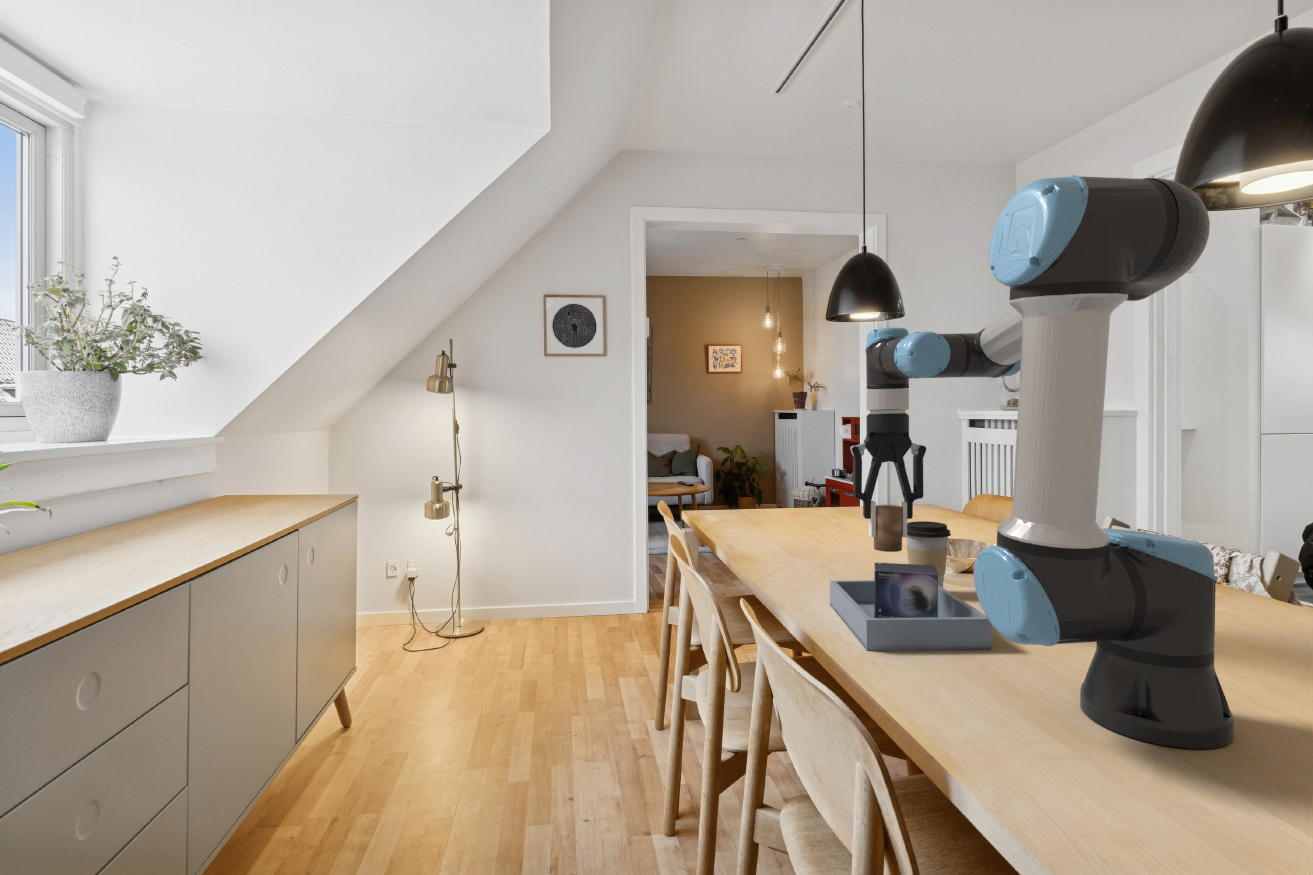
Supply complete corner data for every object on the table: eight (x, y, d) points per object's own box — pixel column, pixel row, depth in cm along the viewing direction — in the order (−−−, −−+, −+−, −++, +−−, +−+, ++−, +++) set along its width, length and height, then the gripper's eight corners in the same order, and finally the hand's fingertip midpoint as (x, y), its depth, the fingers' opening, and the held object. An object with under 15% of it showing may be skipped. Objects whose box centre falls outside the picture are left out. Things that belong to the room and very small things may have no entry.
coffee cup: (942, 588, 144) (942, 520, 144) (958, 600, 135) (957, 527, 134) (898, 588, 145) (897, 520, 145) (910, 600, 136) (909, 528, 135)
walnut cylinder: (898, 546, 126) (898, 504, 126) (904, 551, 121) (904, 508, 121) (871, 545, 127) (871, 504, 127) (876, 551, 122) (876, 508, 122)
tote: (991, 649, 107) (991, 618, 107) (866, 650, 108) (866, 620, 108) (930, 603, 133) (929, 579, 133) (830, 605, 134) (829, 580, 134)
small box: (874, 628, 117) (873, 569, 116) (873, 617, 123) (873, 561, 123) (939, 633, 114) (938, 572, 113) (935, 621, 120) (934, 564, 120)
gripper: (931, 411, 126) (931, 532, 127) (835, 412, 128) (835, 531, 129) (944, 411, 118) (943, 540, 120) (841, 413, 121) (841, 539, 122)
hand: (887, 535), depth 124 cm, fingers closed on walnut cylinder, 5 cm apart
